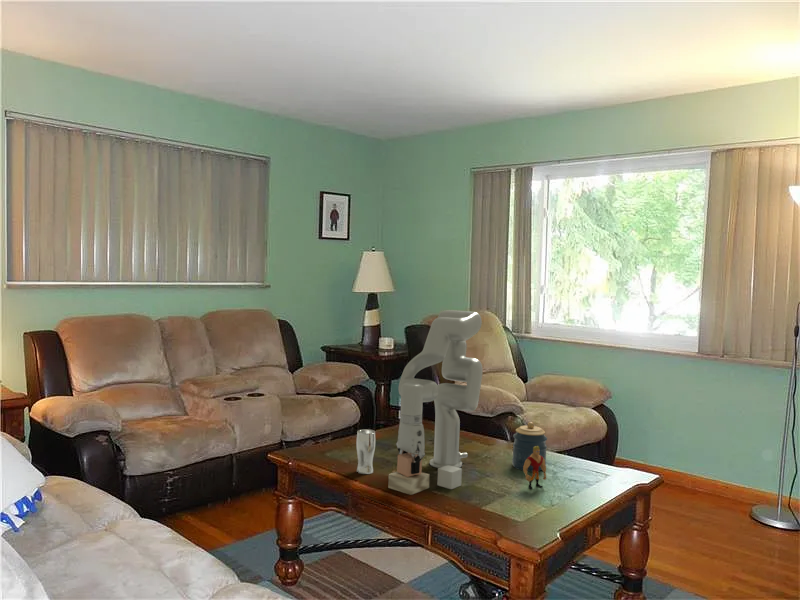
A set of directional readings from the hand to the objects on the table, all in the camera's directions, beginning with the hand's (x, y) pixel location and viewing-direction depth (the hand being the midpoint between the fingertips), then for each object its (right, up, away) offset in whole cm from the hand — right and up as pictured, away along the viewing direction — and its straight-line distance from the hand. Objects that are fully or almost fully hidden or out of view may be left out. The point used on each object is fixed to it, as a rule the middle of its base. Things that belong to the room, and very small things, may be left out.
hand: (409, 470), depth 220 cm
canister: (+47, -7, +29) cm, 55 cm away
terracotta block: (0, -1, 0) cm, 1 cm away
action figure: (+44, -8, +5) cm, 45 cm away
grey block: (+14, -7, +4) cm, 16 cm away
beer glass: (-16, -5, +16) cm, 23 cm away
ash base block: (0, -6, 0) cm, 6 cm away
